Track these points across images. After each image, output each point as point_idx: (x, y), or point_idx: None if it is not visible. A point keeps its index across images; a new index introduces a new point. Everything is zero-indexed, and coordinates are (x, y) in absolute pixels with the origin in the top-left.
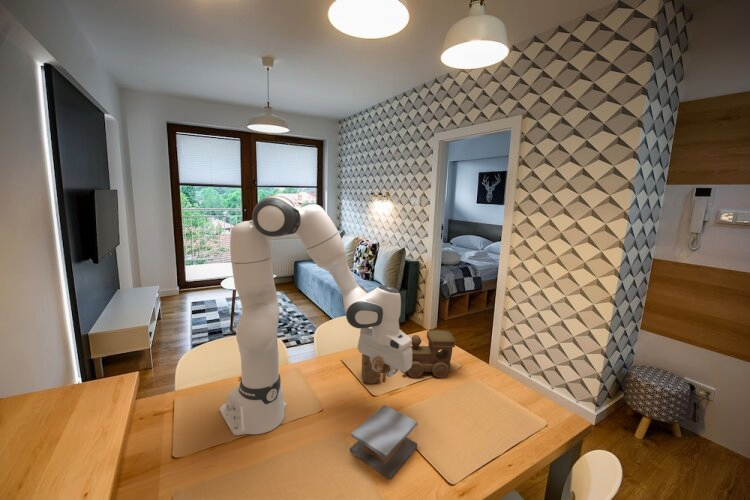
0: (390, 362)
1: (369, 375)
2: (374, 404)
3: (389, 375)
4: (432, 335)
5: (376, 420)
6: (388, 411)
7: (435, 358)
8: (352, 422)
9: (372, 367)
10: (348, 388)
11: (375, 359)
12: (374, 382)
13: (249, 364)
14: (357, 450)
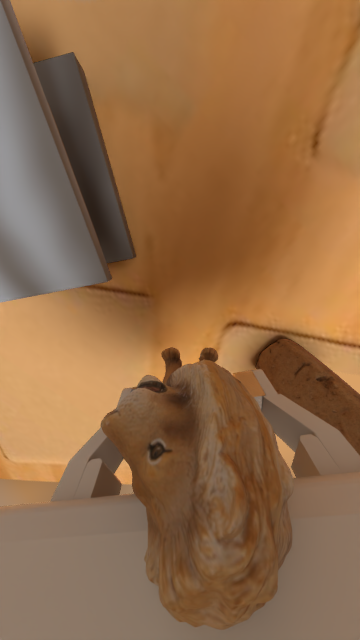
0: (15, 588)
1: (283, 358)
2: (206, 304)
3: (124, 397)
4: None
5: (22, 167)
6: (63, 265)
7: None
8: (194, 199)
9: (262, 378)
10: (304, 293)
11: (230, 559)
12: (261, 354)
13: None
14: (49, 75)
